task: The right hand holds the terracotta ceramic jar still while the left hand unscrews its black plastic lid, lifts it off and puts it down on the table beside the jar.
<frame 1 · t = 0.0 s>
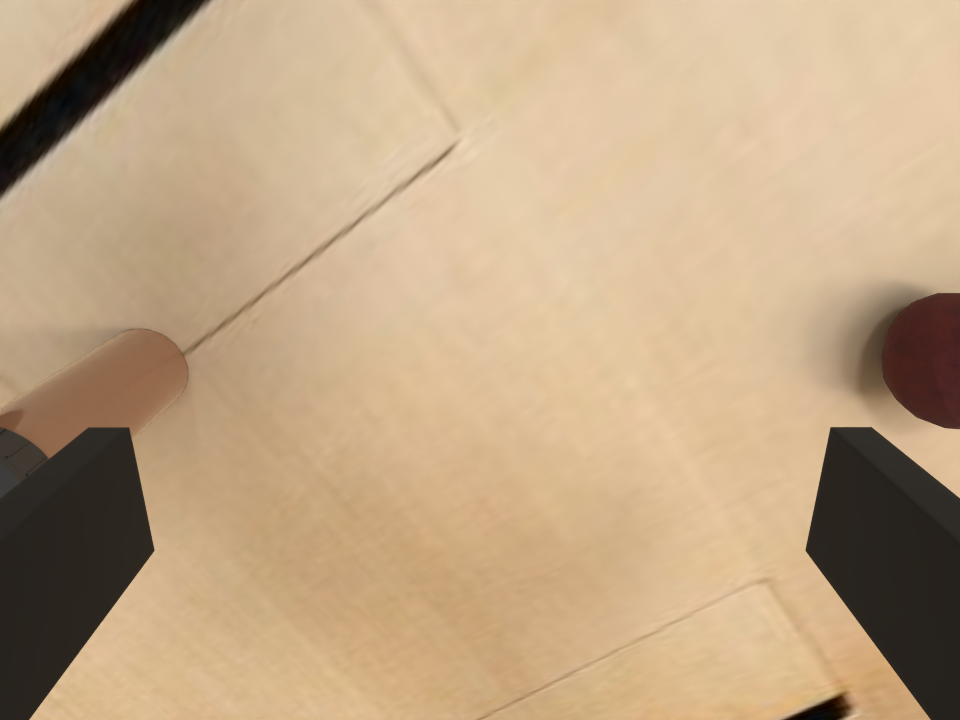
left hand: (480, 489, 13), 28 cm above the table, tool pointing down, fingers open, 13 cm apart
jar: (146, 367, 42), on the table
dark red ball: (915, 337, 41), on the table
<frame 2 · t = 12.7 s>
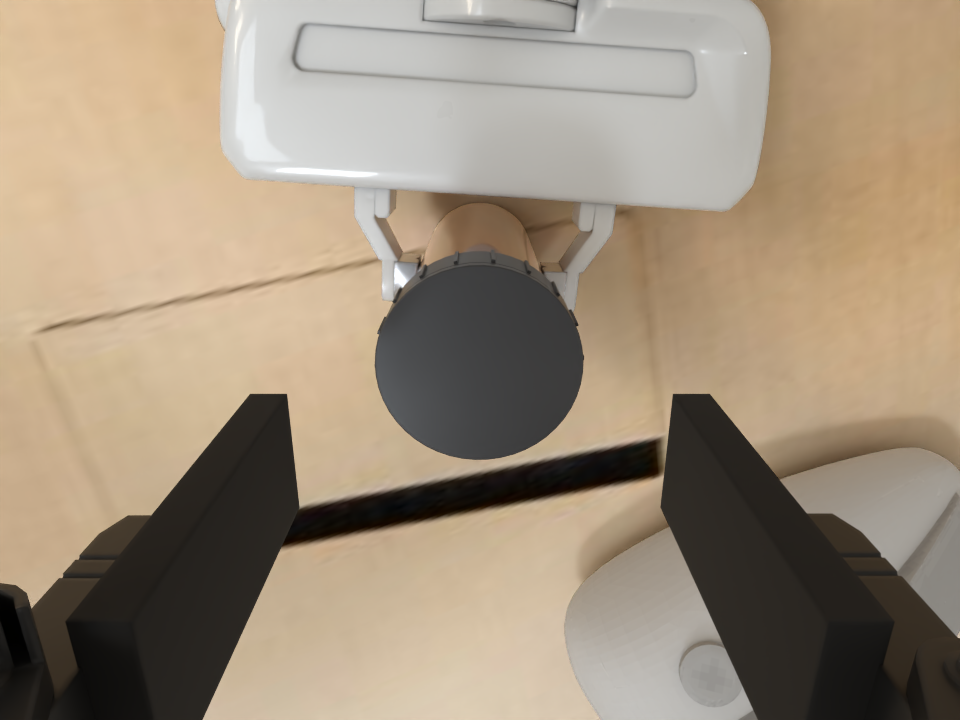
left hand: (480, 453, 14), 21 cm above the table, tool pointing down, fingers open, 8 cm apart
right hand: (479, 303, 28), fingers closed on jar, 5 cm apart
jar: (479, 254, 34), on the table, touching right hand
lid: (479, 363, 19), point 16 cm above the table, screwed on, not yet turned
projector: (760, 568, 40), on the table
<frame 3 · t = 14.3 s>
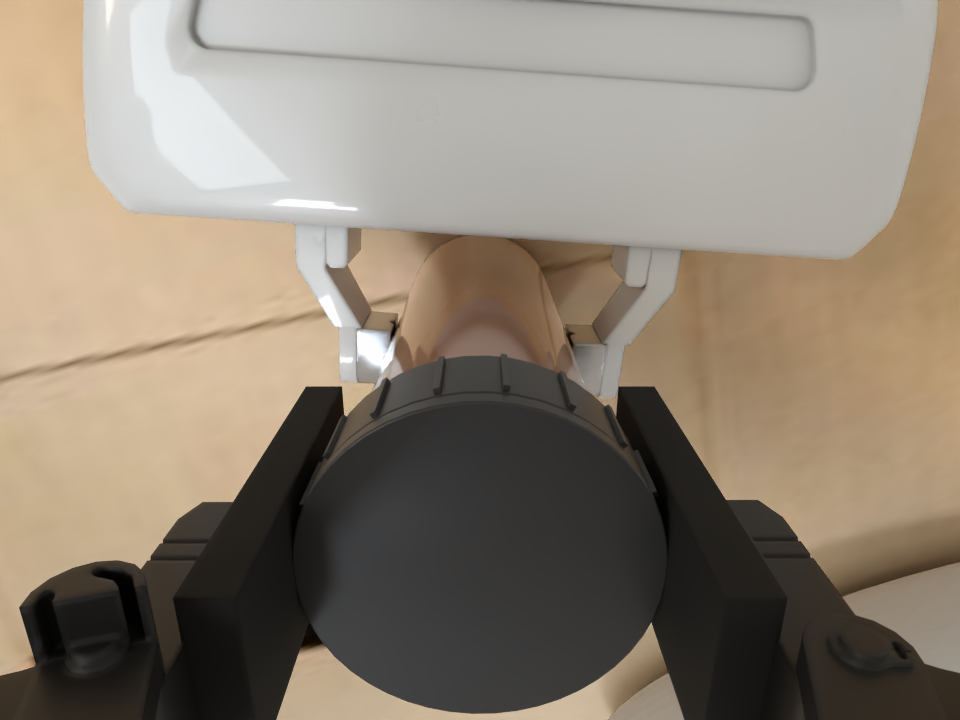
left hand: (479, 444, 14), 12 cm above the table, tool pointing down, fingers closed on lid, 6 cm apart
right hand: (479, 384, 20), fingers closed on jar, 5 cm apart
jar: (480, 301, 25), on the table, touching right hand
lid: (480, 559, 11), point 16 cm above the table, screwed on, not yet turned, touching left hand
projector: (833, 687, 32), on the table
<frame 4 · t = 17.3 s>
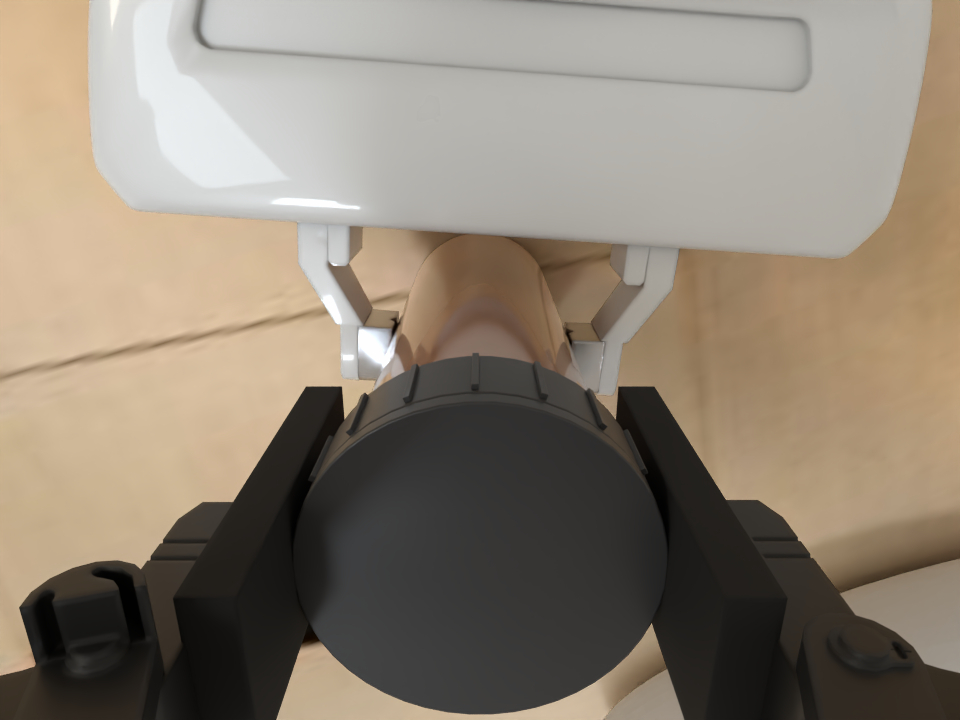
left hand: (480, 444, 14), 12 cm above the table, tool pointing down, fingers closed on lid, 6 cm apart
right hand: (479, 381, 20), fingers closed on jar, 5 cm apart
jar: (480, 299, 26), on the table, touching right hand
lid: (480, 560, 11), point 16 cm above the table, turned 89° so far, risen 0.2 cm, still on its thread, touching left hand
projector: (830, 684, 32), on the table
when the left hand's fingers open (0 cm above the table, at t = 23.3 s): lid drops 3 cm, point 2 cm above the table.
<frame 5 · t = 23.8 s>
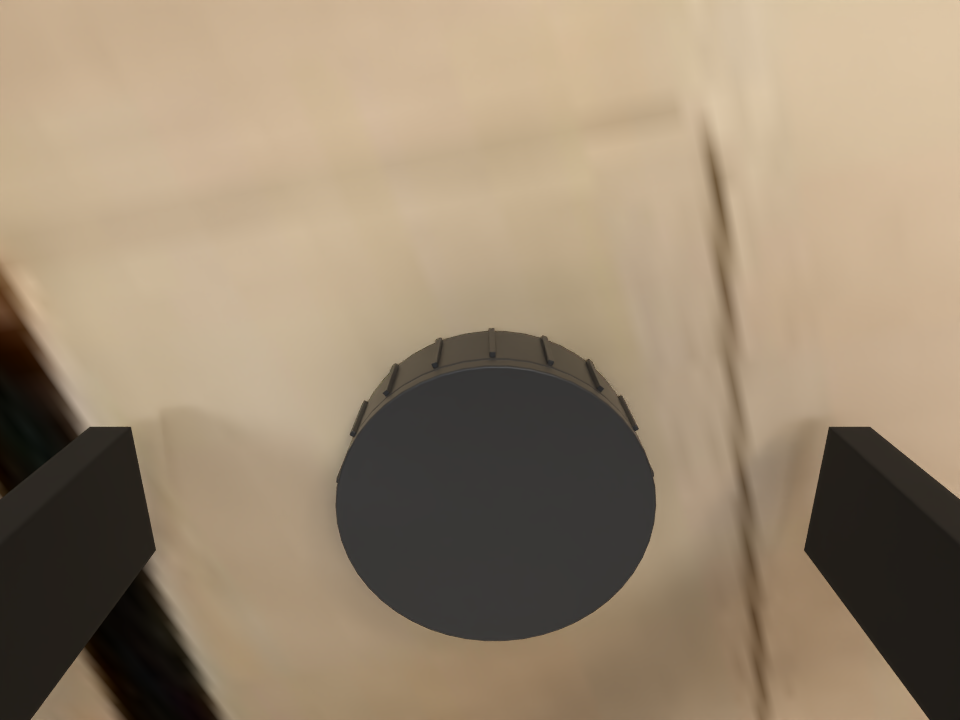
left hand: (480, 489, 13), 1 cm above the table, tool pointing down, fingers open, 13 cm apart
lid: (495, 505, 13), point 2 cm above the table, off its thread
when the right hand's fingers open (6 cm above the table, at t = 24.5 s): jar stays where it is, on the table.
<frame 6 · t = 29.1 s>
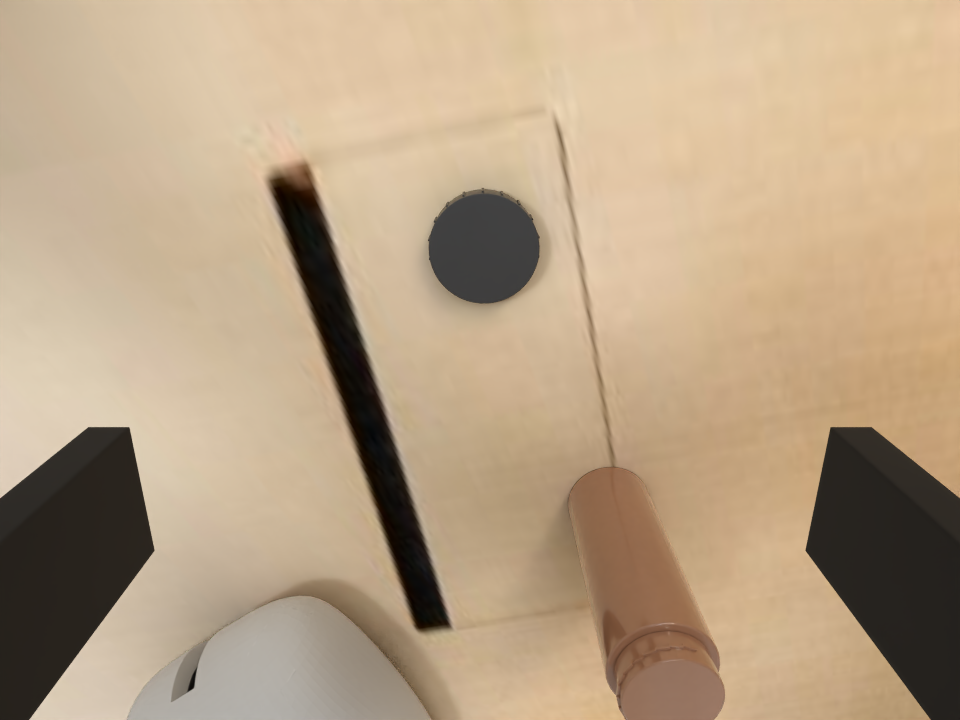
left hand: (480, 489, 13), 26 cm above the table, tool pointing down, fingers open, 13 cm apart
jar: (608, 501, 43), on the table
lid: (484, 248, 36), point 2 cm above the table, off its thread
projector: (334, 702, 49), on the table
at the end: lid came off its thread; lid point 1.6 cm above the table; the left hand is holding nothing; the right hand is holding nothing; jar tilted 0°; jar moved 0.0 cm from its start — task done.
